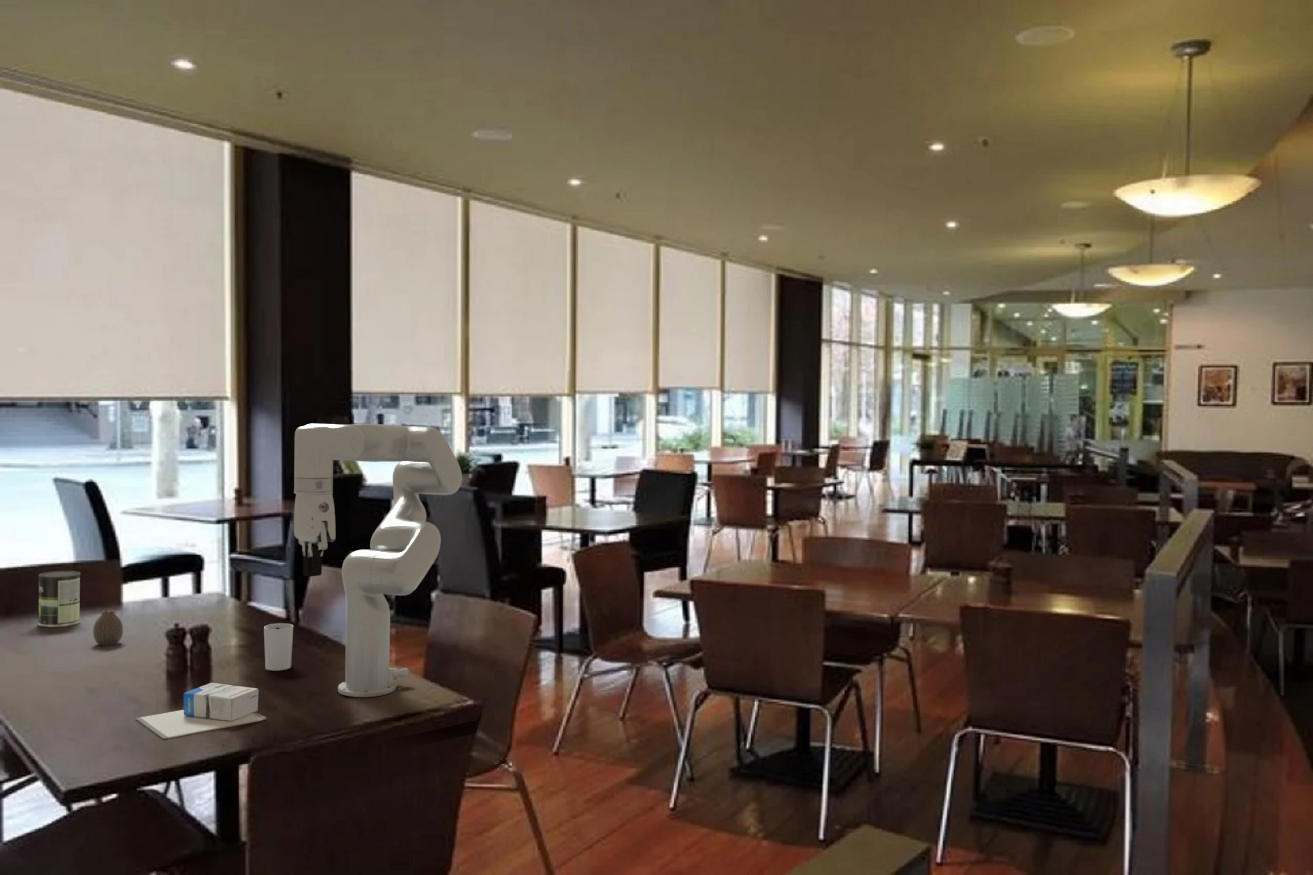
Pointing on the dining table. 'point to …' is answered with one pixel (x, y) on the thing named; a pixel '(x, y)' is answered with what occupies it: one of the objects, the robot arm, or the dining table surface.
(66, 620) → the coffee can
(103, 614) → the vase
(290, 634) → the white cup
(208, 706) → the ink box
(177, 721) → the mat
